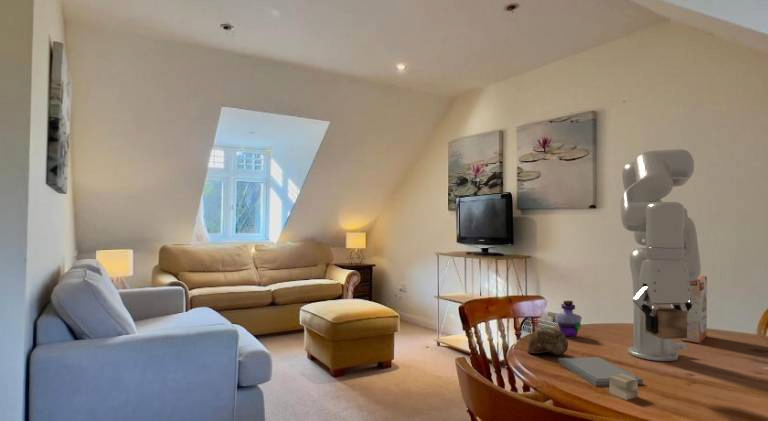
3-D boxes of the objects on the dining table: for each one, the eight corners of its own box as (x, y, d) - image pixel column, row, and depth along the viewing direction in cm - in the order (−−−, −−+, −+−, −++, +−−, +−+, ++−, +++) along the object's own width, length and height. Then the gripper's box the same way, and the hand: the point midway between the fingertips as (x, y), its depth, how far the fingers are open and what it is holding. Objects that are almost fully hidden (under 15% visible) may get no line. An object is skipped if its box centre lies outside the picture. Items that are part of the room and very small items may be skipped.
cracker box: (702, 344, 144) (701, 279, 145) (680, 340, 148) (679, 277, 149) (708, 336, 154) (707, 275, 155) (687, 333, 158) (686, 274, 159)
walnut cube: (667, 331, 108) (667, 306, 108) (687, 338, 102) (687, 311, 102) (644, 332, 108) (644, 307, 108) (662, 339, 102) (662, 312, 102)
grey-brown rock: (571, 353, 133) (571, 326, 133) (563, 361, 125) (563, 332, 126) (533, 347, 140) (533, 321, 140) (523, 354, 132) (523, 327, 132)
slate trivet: (599, 361, 126) (599, 356, 126) (642, 384, 108) (642, 378, 108) (558, 362, 124) (558, 357, 124) (595, 385, 106) (595, 380, 106)
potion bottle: (579, 340, 148) (579, 303, 148) (552, 336, 153) (552, 301, 153) (584, 335, 155) (583, 300, 156) (558, 331, 160) (557, 297, 160)
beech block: (621, 391, 103) (621, 373, 104) (637, 397, 100) (637, 379, 100) (609, 394, 102) (609, 376, 102) (625, 400, 98) (625, 381, 98)
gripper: (686, 252, 110) (687, 326, 110) (620, 254, 108) (620, 328, 108) (711, 255, 102) (712, 334, 102) (641, 257, 100) (641, 337, 100)
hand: (665, 331), depth 105 cm, fingers closed on walnut cube, 6 cm apart
